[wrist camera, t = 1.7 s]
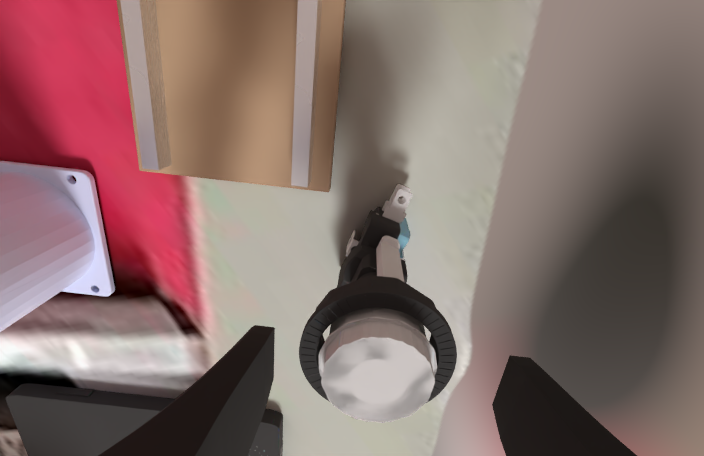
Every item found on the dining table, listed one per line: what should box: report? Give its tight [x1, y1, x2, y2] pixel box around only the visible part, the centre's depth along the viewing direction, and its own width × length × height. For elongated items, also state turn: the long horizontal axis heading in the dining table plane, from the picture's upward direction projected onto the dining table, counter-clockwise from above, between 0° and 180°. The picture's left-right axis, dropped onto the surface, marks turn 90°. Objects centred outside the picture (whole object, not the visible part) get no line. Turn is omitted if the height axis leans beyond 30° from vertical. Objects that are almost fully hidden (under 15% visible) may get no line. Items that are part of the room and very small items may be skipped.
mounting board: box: [117, 0, 346, 192], centre depth 16 cm, size 10×15×1 cm, turn 174°
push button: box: [299, 184, 457, 423], centre depth 15 cm, size 7×5×10 cm
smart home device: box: [6, 383, 283, 456], centre depth 27 cm, size 8×2×20 cm
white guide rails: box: [120, 0, 322, 187], centre depth 14 cm, size 8×14×3 cm, turn 174°
